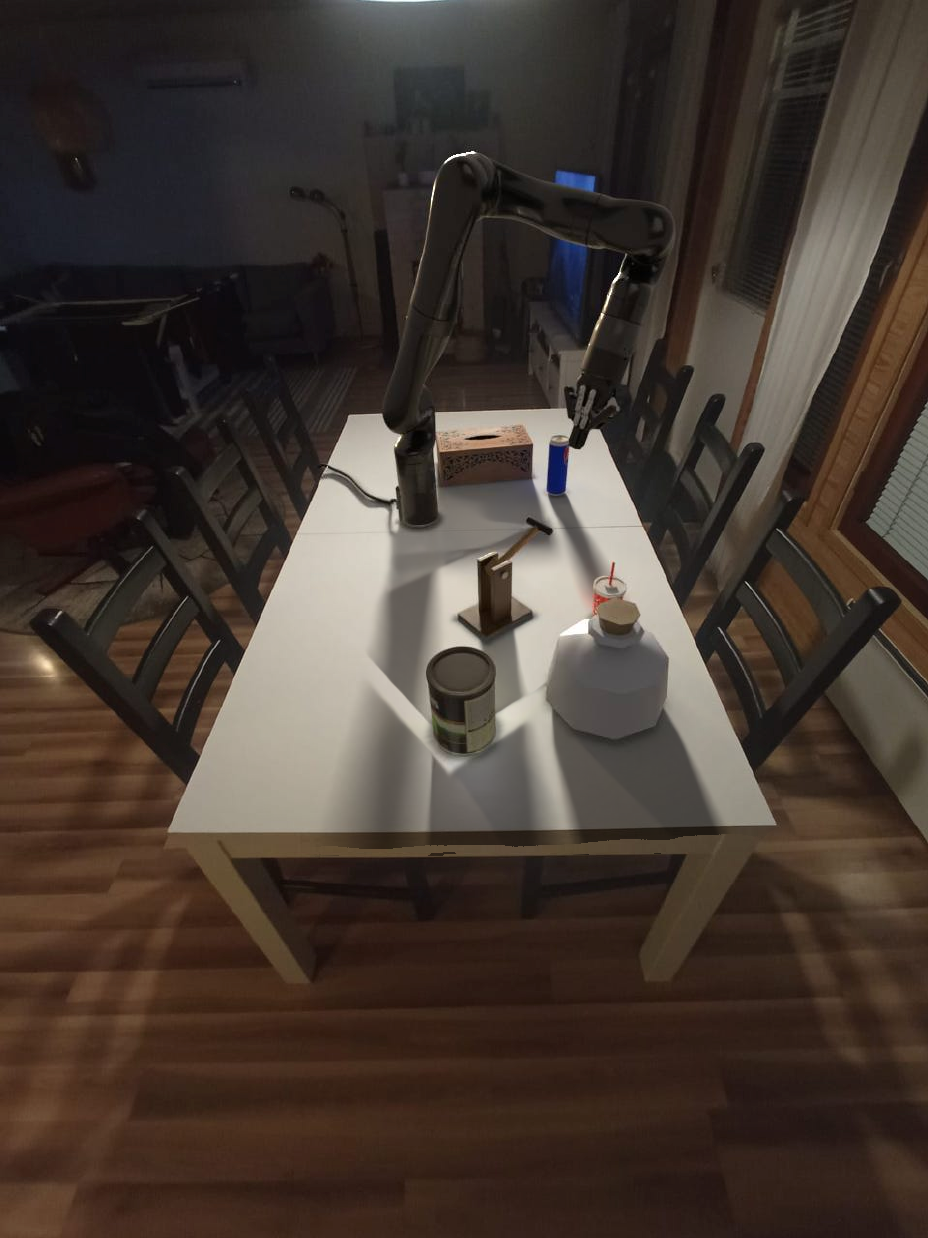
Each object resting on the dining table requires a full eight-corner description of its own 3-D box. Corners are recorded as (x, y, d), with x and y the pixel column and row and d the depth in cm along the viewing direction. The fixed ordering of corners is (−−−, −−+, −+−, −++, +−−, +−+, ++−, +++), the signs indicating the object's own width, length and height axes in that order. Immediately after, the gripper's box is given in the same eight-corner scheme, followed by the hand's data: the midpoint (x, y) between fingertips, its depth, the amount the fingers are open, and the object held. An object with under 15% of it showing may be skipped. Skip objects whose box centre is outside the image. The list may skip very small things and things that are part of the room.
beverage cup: (601, 635, 107) (611, 576, 98) (582, 618, 111) (589, 559, 102) (626, 625, 109) (638, 566, 100) (606, 608, 113) (616, 549, 104)
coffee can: (434, 760, 86) (426, 699, 77) (431, 709, 94) (424, 648, 85) (500, 754, 87) (500, 692, 78) (492, 704, 95) (491, 642, 86)
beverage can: (564, 497, 149) (569, 442, 140) (545, 495, 150) (548, 442, 141) (566, 488, 153) (570, 434, 144) (547, 487, 154) (550, 434, 144)
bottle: (671, 751, 86) (699, 664, 74) (542, 737, 89) (549, 650, 77) (659, 661, 101) (681, 576, 89) (550, 651, 104) (556, 568, 92)
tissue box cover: (522, 456, 170) (522, 424, 163) (531, 477, 159) (533, 443, 152) (437, 464, 168) (435, 431, 162) (441, 485, 157) (439, 451, 151)
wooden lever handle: (533, 521, 109) (529, 512, 107) (554, 533, 105) (551, 525, 103) (481, 570, 107) (477, 562, 105) (501, 584, 103) (497, 576, 101)
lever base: (503, 595, 118) (503, 539, 109) (532, 616, 112) (535, 558, 103) (457, 618, 112) (454, 561, 104) (485, 641, 107) (484, 583, 98)
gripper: (569, 335, 97) (537, 434, 106) (626, 354, 89) (586, 460, 98) (596, 342, 102) (564, 436, 110) (653, 361, 94) (613, 462, 102)
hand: (574, 447), depth 104 cm, fingers closed
